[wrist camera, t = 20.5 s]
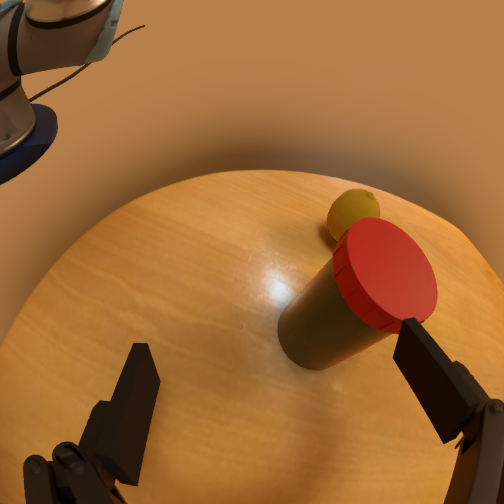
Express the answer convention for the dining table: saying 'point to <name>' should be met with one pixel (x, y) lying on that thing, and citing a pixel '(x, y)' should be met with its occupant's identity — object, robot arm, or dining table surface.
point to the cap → (384, 275)
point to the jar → (323, 325)
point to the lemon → (351, 211)
